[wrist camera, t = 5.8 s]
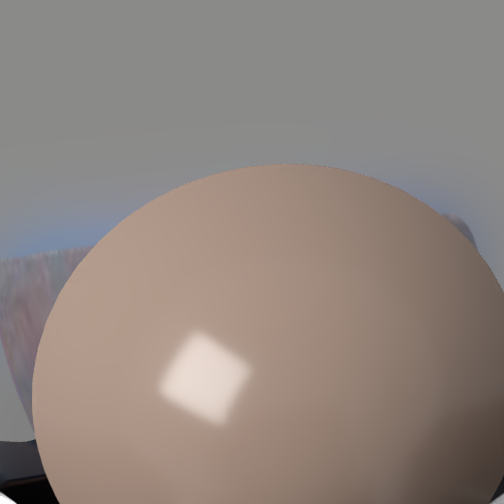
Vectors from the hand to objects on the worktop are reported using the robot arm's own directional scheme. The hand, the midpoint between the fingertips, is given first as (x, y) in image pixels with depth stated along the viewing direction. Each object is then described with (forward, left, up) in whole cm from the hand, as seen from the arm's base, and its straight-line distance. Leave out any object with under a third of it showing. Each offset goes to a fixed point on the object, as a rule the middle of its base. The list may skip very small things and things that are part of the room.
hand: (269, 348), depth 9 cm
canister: (-1, -1, -7) cm, 7 cm away
